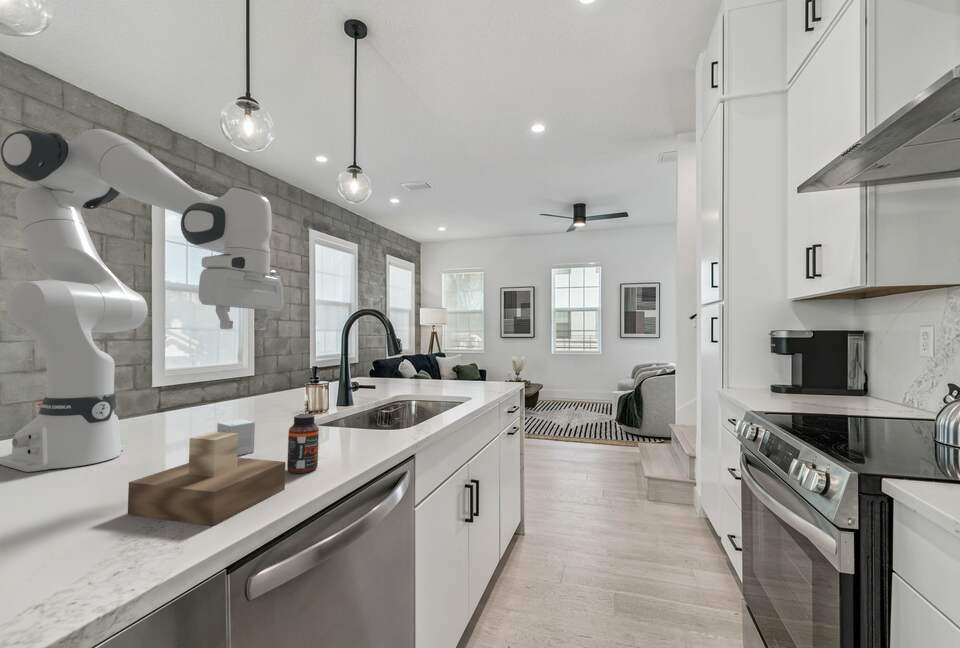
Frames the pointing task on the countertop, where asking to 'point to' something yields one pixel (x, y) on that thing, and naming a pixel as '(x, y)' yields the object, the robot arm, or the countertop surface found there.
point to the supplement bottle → (303, 444)
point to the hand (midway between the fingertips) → (244, 329)
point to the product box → (240, 433)
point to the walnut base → (205, 492)
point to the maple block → (213, 453)
